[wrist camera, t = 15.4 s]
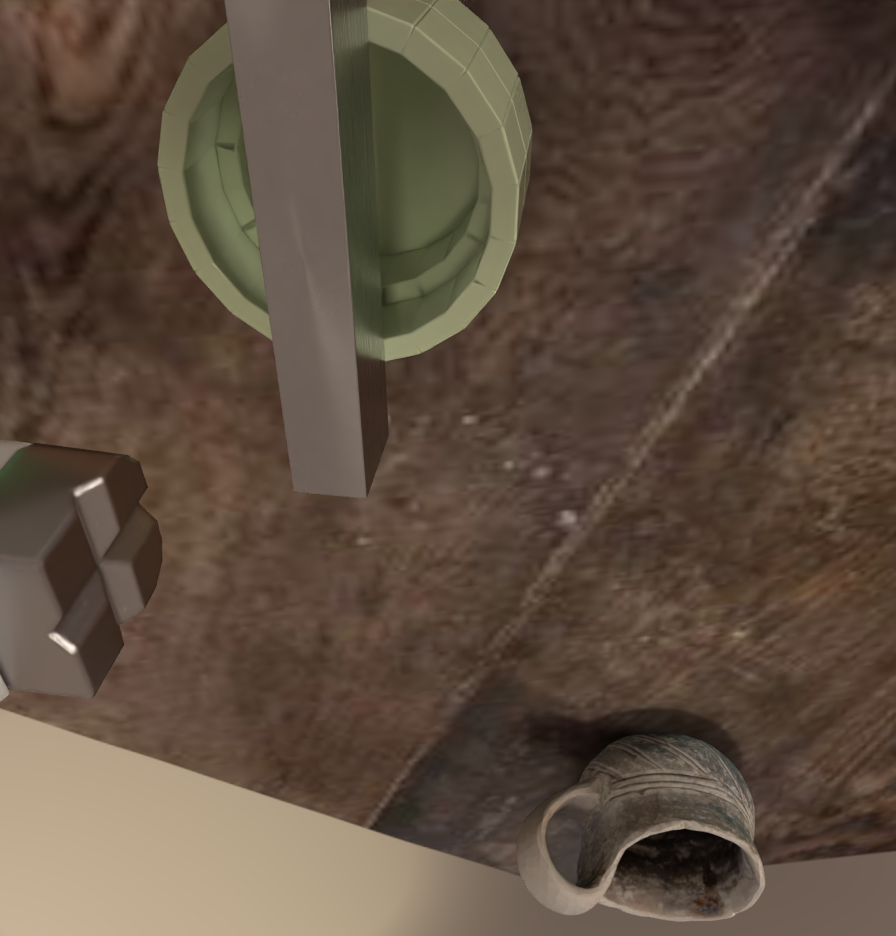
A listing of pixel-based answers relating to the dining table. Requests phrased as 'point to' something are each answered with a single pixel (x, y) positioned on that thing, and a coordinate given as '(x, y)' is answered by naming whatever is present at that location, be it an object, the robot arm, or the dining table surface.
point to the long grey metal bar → (316, 229)
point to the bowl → (396, 170)
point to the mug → (651, 834)
